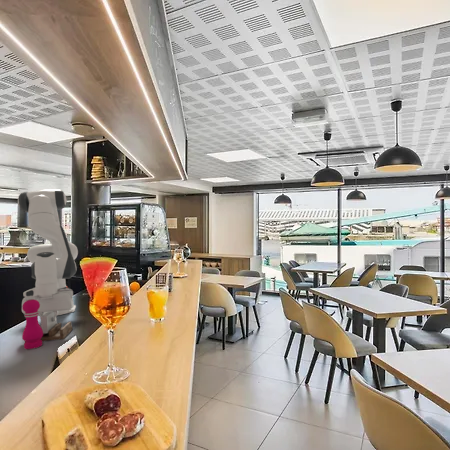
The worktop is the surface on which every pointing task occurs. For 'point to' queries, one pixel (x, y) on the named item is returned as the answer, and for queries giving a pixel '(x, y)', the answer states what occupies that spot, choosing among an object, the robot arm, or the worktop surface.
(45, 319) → the clay strip
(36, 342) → the pepper mill
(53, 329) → the walnut rack
